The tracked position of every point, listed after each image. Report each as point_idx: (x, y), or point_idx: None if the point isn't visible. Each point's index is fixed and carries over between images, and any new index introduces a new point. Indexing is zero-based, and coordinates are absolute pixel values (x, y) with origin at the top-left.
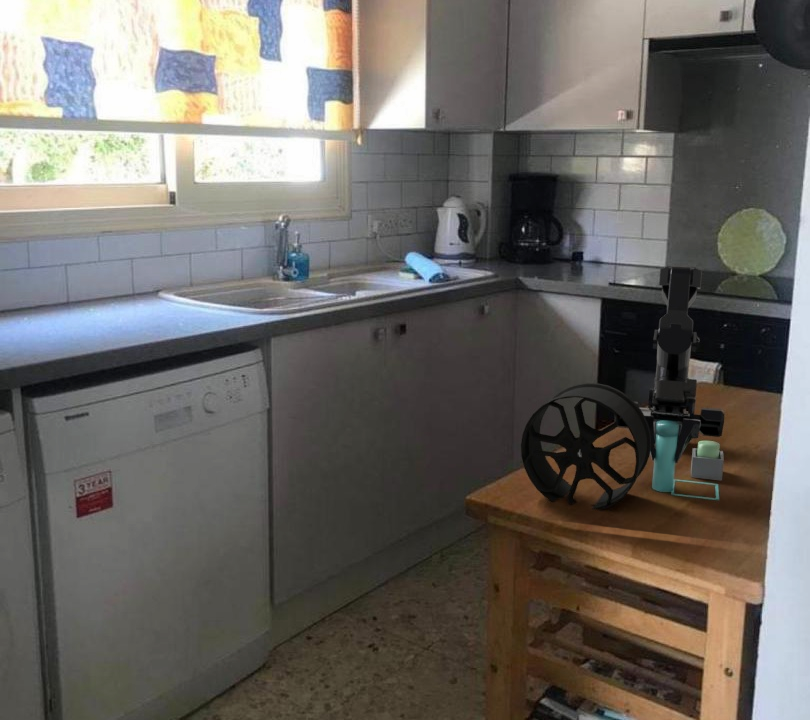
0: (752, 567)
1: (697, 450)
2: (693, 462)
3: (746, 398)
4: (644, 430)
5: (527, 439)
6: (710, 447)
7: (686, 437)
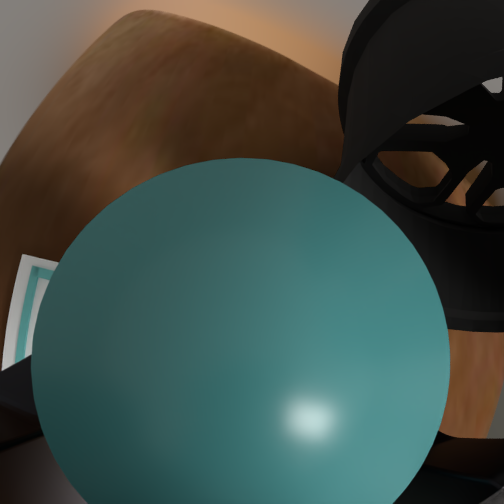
0: (118, 25)
1: None
2: None
3: None
4: (451, 67)
5: None
6: None
7: (25, 362)
